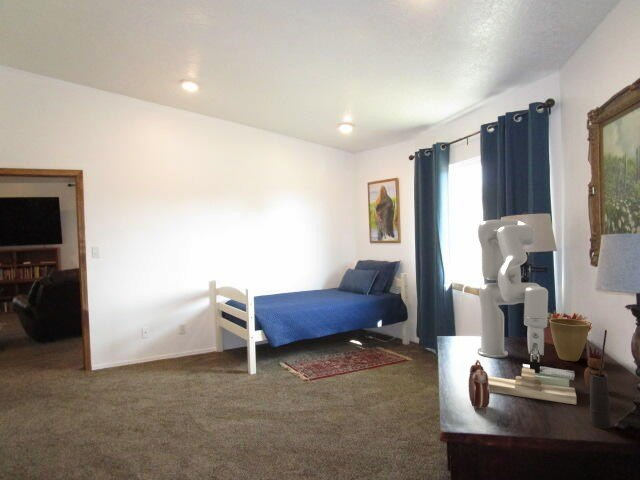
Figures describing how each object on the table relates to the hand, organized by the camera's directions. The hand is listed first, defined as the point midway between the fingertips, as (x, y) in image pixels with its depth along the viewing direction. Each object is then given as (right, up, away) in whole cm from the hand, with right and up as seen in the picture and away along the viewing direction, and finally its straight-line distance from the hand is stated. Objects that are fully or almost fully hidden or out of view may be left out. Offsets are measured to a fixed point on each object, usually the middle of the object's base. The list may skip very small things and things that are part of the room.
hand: (534, 368), depth 157 cm
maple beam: (-6, -6, -8) cm, 12 cm away
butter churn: (+2, -7, -31) cm, 32 cm away
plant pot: (+29, -5, +29) cm, 41 cm away
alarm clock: (-27, -7, -20) cm, 34 cm away
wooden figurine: (+18, -6, -6) cm, 20 cm away
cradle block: (+4, -6, -4) cm, 8 cm away
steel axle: (+3, -2, -3) cm, 5 cm away
